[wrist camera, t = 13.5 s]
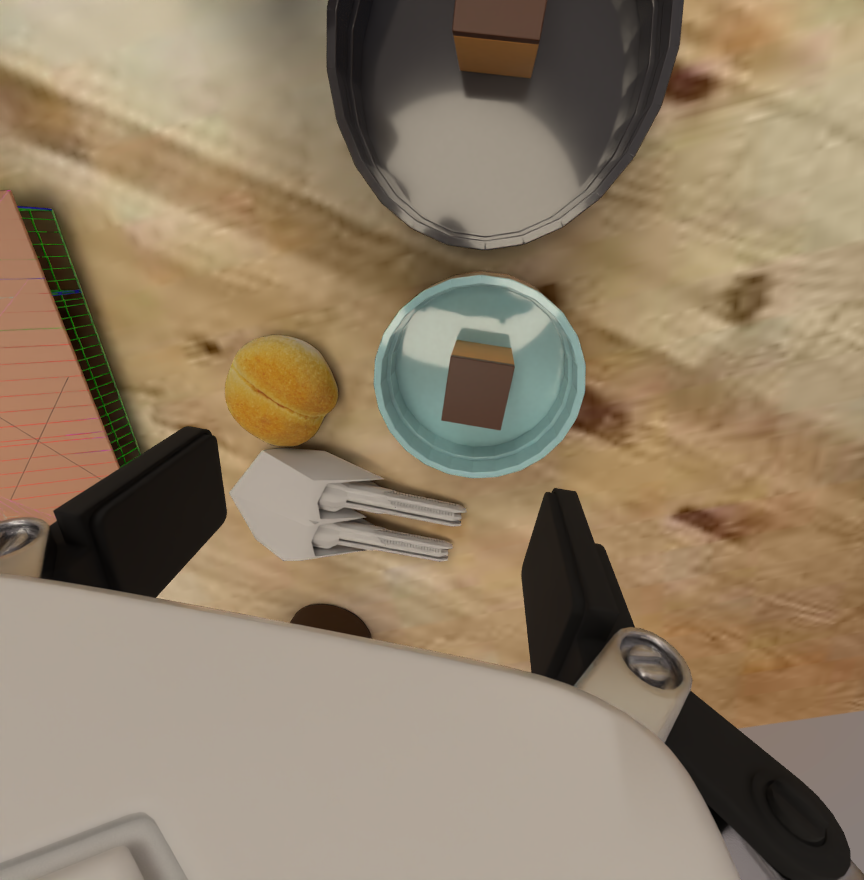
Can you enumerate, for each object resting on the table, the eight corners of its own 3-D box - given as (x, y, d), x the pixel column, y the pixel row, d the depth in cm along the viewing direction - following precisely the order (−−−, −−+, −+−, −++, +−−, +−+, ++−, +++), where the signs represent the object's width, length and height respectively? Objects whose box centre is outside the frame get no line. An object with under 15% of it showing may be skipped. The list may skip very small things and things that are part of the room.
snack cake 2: (447, 396, 31) (440, 420, 27) (456, 339, 29) (450, 356, 25) (499, 404, 31) (500, 431, 27) (511, 348, 29) (515, 366, 25)
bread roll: (357, 373, 32) (341, 390, 28) (305, 450, 36) (284, 473, 32) (267, 306, 30) (237, 315, 27) (222, 394, 34) (191, 411, 31)
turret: (441, 553, 41) (443, 591, 37) (240, 516, 39) (218, 552, 35) (470, 473, 37) (476, 506, 33) (244, 426, 34) (219, 454, 30)
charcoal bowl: (348, 229, 27) (325, 227, 24) (358, -148, 20) (327, -239, 16) (595, 264, 26) (612, 268, 23) (704, -121, 19) (757, -211, 15)
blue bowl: (382, 436, 34) (368, 460, 30) (395, 257, 28) (380, 260, 24) (546, 464, 33) (553, 492, 29) (598, 286, 27) (616, 294, 23)
